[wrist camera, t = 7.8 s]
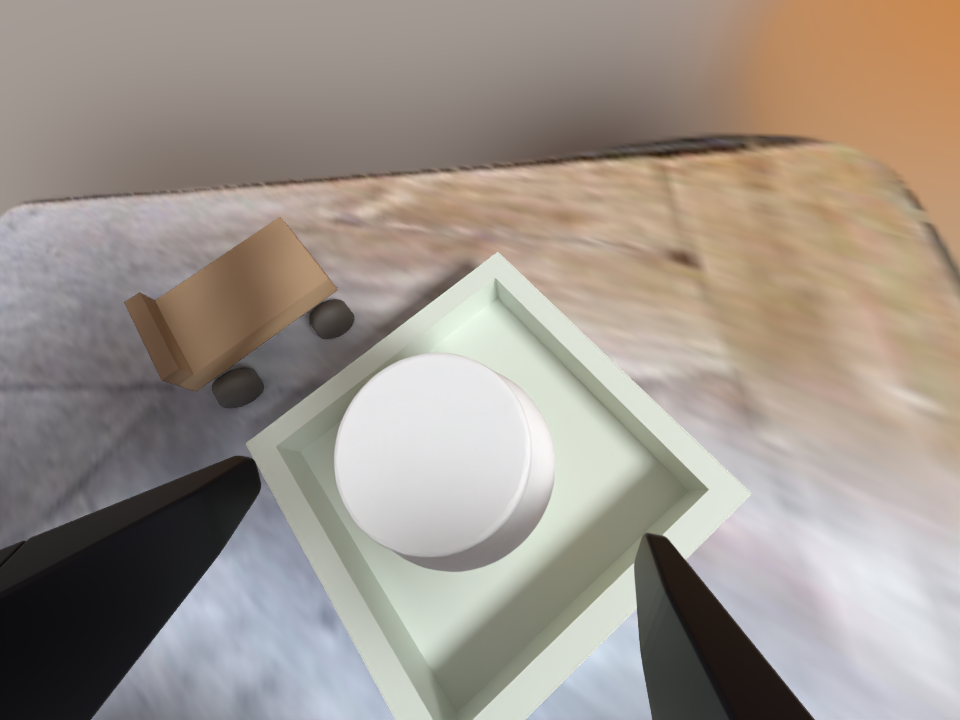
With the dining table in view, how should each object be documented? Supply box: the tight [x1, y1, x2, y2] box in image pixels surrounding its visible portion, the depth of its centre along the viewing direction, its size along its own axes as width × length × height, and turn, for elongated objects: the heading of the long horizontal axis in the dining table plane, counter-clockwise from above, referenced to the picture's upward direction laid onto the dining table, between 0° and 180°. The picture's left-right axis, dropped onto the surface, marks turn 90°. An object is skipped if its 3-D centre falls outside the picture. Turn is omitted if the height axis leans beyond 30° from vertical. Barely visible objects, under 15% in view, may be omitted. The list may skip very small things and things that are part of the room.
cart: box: [124, 217, 354, 408], centre depth 19 cm, size 8×7×4 cm
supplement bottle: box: [334, 353, 555, 572], centre depth 12 cm, size 5×5×10 cm
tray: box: [245, 252, 752, 720], centre depth 16 cm, size 14×14×2 cm
